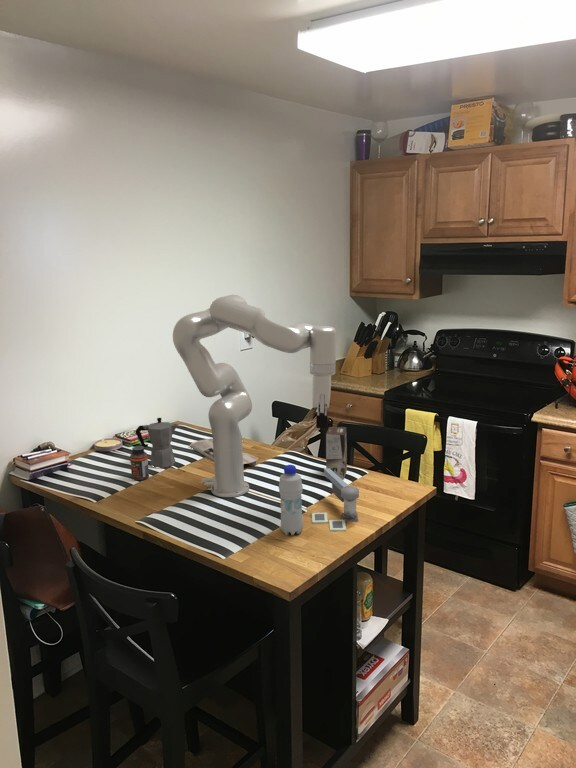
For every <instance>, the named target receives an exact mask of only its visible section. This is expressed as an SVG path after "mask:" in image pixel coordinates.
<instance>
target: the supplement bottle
mask: <svg viewBox="0 0 576 768" xmlns="http://www.w3.org/2000/svg"><path fill="white" fill-rule="evenodd" d="M131 452H132V453H131V454H130V455H129V460H130V462H129V463H130V473H131V479H132V480H133V479H134V481H136V480H141V481H144V480H147V479H148V478H149V477H150V473H149V471H150V470H149V461H148V459H149V458H148V454H147V452H146V451H145V447H143V446H142V445H137V446H134V447H132V451H131Z"/></svg>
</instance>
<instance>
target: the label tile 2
mask: <svg viewBox="0 0 576 768" xmlns="http://www.w3.org/2000/svg"><path fill="white" fill-rule="evenodd" d="M328 523H329V532H346V531H347V526H346V521H345V520H343V519H329V520H328Z"/></svg>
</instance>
